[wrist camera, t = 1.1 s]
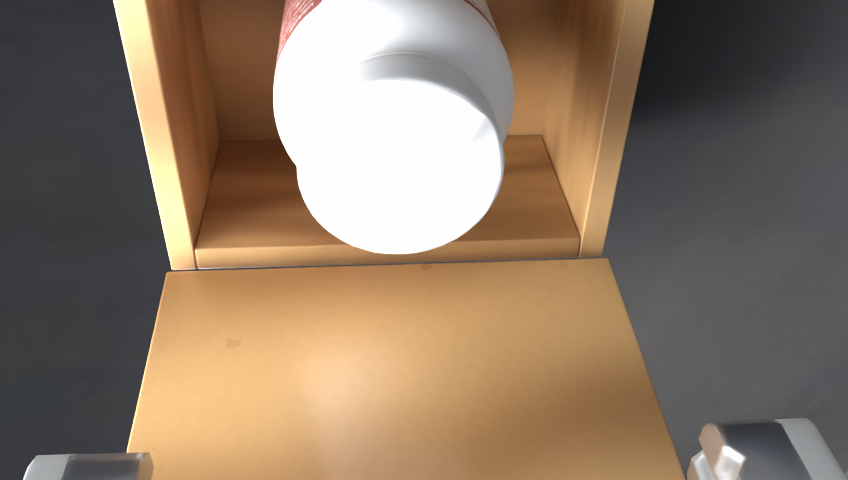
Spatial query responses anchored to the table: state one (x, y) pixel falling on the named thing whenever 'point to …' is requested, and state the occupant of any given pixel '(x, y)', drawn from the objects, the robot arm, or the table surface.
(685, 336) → the table surface
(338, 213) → the pill bottle
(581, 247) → the chest
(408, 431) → the chest lid
